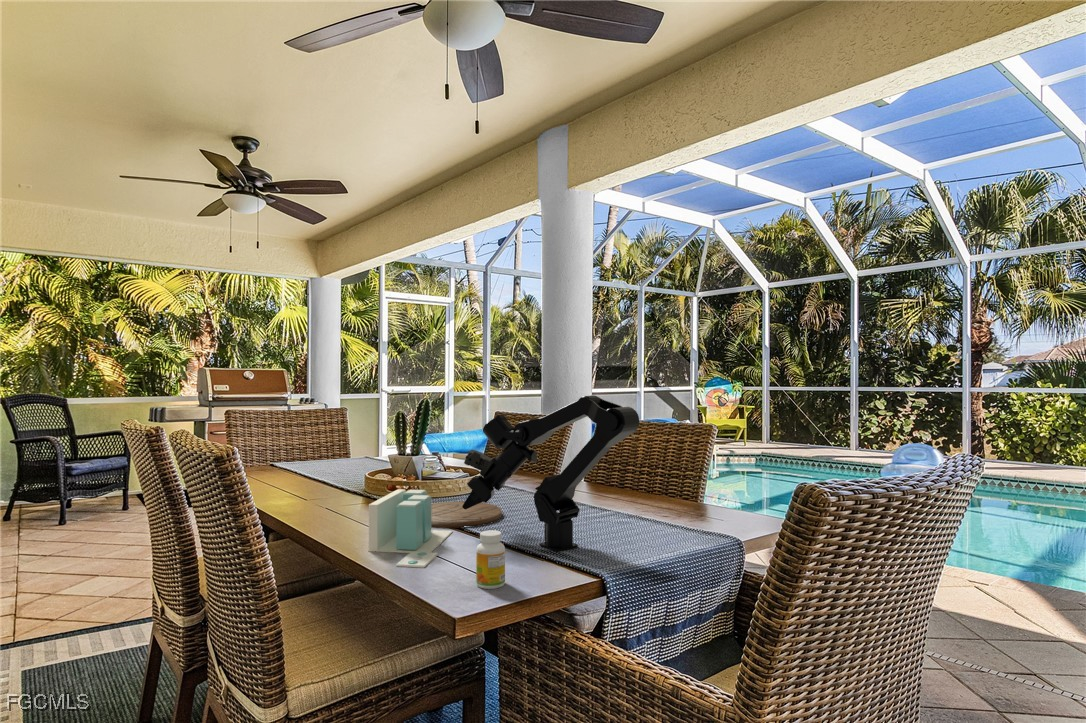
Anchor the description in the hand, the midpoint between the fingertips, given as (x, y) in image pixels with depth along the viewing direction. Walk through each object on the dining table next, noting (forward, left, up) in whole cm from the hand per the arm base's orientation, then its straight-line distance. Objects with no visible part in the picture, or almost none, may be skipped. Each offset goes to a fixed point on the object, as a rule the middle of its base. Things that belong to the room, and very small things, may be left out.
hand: (463, 507), depth 155 cm
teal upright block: (+2, +11, -7) cm, 13 cm away
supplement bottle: (-33, +13, -7) cm, 37 cm away
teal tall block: (-3, +15, -7) cm, 17 cm away
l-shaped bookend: (+3, +12, -7) cm, 14 cm away
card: (-11, +18, -7) cm, 22 cm away
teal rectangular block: (+9, +8, -7) cm, 14 cm away
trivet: (+19, -9, -7) cm, 22 cm away
